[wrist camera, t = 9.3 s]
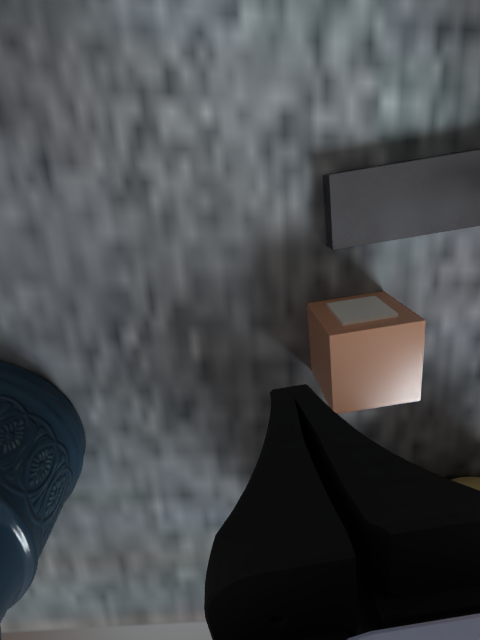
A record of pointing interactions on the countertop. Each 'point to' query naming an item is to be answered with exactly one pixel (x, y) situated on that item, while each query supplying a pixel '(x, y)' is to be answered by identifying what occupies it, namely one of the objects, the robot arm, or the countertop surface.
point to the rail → (402, 199)
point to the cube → (366, 351)
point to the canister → (32, 472)
